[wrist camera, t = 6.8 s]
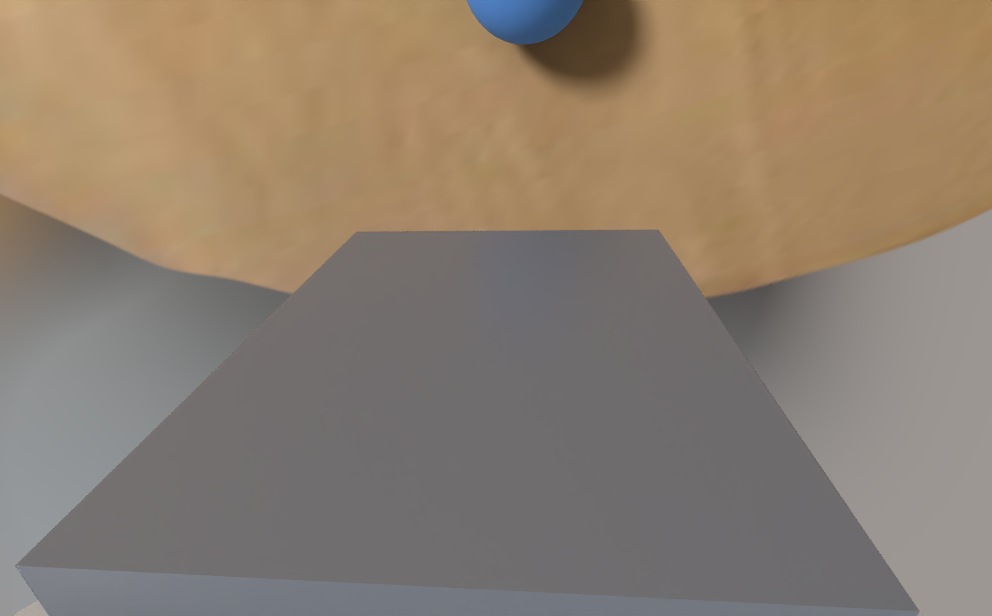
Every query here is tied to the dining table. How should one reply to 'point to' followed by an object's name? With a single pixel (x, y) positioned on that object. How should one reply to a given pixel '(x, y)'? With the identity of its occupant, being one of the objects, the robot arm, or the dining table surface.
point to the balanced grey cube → (474, 455)
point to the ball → (524, 18)
